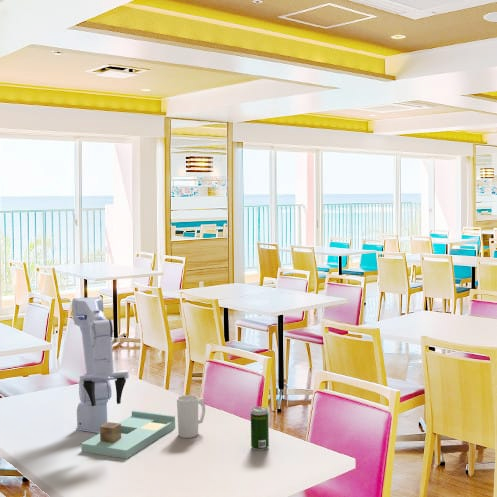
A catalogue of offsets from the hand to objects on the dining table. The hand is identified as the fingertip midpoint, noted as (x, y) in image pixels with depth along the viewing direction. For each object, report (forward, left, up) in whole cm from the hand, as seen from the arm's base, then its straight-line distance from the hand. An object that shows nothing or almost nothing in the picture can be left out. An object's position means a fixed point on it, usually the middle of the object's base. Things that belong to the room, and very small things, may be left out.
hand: (106, 404), depth 216 cm
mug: (+18, +21, -14) cm, 31 cm away
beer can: (+43, +17, -14) cm, 48 cm away
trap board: (+2, +9, -14) cm, 17 cm away
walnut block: (+1, +1, -11) cm, 11 cm away
